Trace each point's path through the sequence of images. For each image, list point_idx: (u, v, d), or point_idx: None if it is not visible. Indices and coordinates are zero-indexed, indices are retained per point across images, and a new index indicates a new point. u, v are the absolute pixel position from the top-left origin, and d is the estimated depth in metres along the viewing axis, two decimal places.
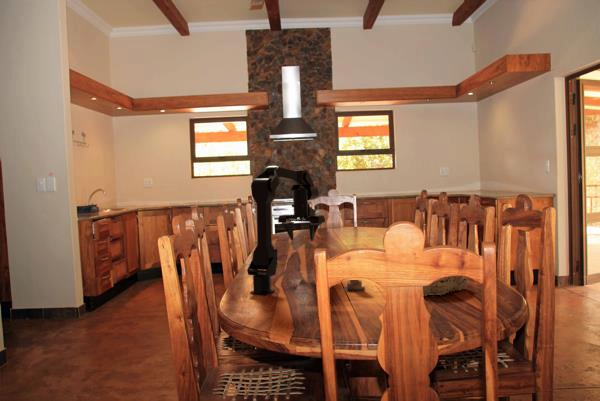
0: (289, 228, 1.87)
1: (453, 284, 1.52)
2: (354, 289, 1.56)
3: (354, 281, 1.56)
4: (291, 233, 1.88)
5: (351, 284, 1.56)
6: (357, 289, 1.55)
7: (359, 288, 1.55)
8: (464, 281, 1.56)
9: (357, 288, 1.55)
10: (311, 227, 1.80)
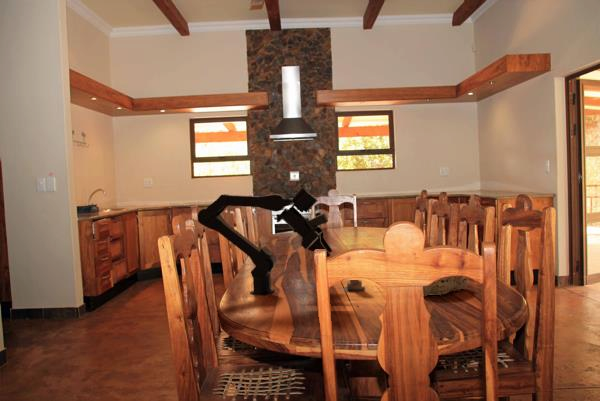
0: None
1: (453, 284, 1.52)
2: (354, 289, 1.56)
3: (354, 281, 1.56)
4: (324, 247, 1.63)
5: (351, 284, 1.56)
6: (357, 289, 1.55)
7: (359, 288, 1.55)
8: (464, 281, 1.56)
9: (357, 288, 1.55)
10: None
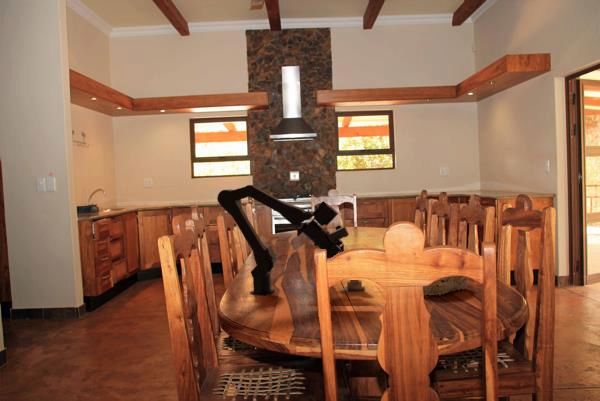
0: None
1: (453, 284, 1.53)
2: (354, 289, 1.56)
3: (354, 281, 1.56)
4: None
5: (351, 284, 1.56)
6: (357, 289, 1.55)
7: (359, 288, 1.55)
8: (464, 281, 1.56)
9: (357, 288, 1.55)
10: None
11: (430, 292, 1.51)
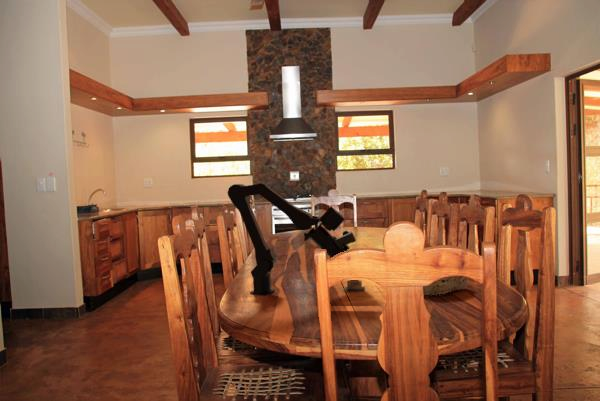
0: None
1: (454, 284, 1.53)
2: (354, 289, 1.56)
3: (354, 281, 1.56)
4: None
5: (351, 284, 1.56)
6: (357, 289, 1.55)
7: (359, 288, 1.55)
8: (464, 280, 1.56)
9: (357, 288, 1.55)
10: None
11: (431, 292, 1.51)
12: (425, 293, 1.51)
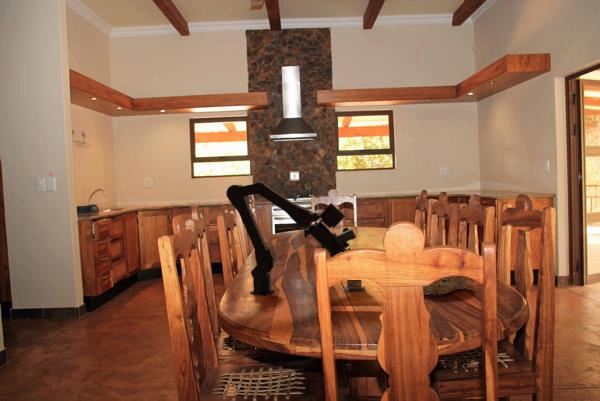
0: None
1: (454, 283, 1.53)
2: (354, 286, 1.56)
3: None
4: None
5: (351, 281, 1.56)
6: (357, 286, 1.55)
7: (359, 285, 1.55)
8: (465, 280, 1.57)
9: (357, 285, 1.55)
10: None
11: (432, 292, 1.51)
12: (426, 293, 1.51)
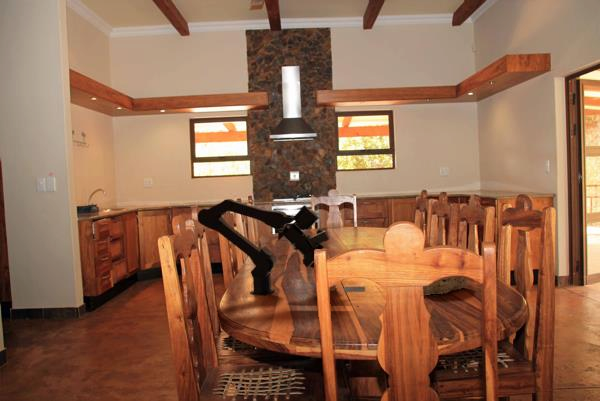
0: None
1: (454, 283, 1.54)
2: None
3: None
4: None
5: None
6: None
7: (332, 290, 1.57)
8: (464, 280, 1.58)
9: (330, 290, 1.57)
10: None
11: (432, 291, 1.52)
12: (426, 292, 1.52)
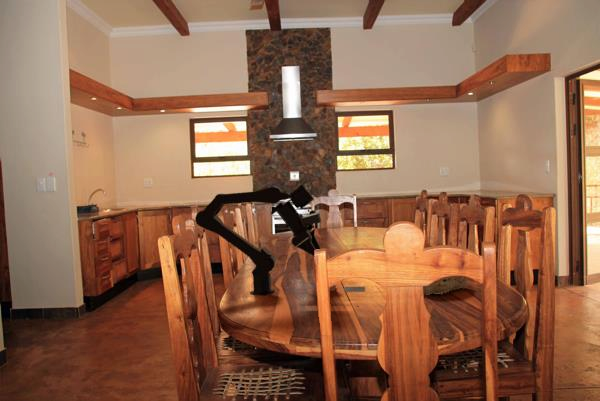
0: None
1: (455, 283, 1.54)
2: None
3: None
4: (314, 244, 1.65)
5: None
6: None
7: (332, 290, 1.57)
8: (465, 280, 1.58)
9: (330, 290, 1.57)
10: None
11: (432, 291, 1.52)
12: (427, 292, 1.52)
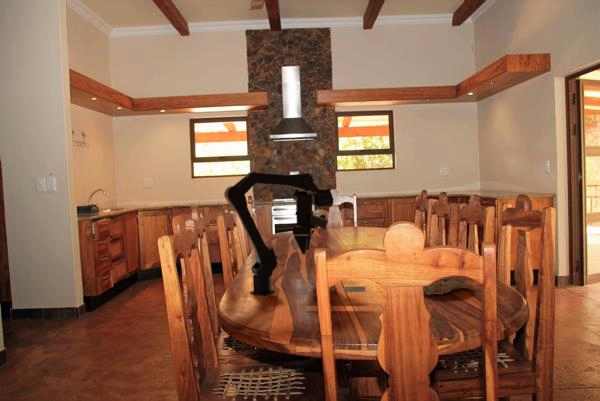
0: None
1: (455, 282, 1.54)
2: None
3: None
4: None
5: None
6: None
7: (332, 290, 1.57)
8: (465, 279, 1.58)
9: (330, 290, 1.57)
10: None
11: (433, 291, 1.52)
12: (428, 292, 1.52)
